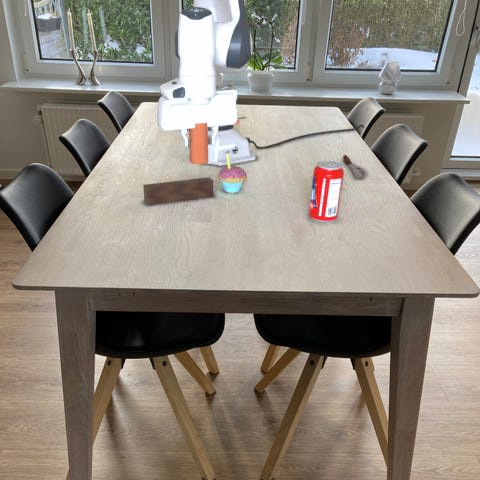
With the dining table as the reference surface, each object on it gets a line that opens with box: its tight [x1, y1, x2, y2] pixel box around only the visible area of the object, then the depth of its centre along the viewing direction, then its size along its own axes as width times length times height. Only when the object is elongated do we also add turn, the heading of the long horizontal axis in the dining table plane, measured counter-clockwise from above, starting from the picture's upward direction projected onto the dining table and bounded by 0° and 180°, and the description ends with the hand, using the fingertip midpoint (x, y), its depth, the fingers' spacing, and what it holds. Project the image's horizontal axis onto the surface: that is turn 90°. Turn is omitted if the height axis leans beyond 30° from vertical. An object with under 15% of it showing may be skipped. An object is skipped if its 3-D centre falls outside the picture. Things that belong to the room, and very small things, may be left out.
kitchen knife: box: [342, 154, 365, 179], centre depth 180 cm, size 21×2×5 cm
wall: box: [142, 176, 214, 206], centre depth 150 cm, size 20×3×5 cm, turn 114°
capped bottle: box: [188, 123, 208, 165], centre depth 133 cm, size 5×5×11 cm
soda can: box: [308, 160, 345, 223], centre depth 140 cm, size 8×8×15 cm
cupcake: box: [218, 153, 248, 194], centre depth 156 cm, size 9×8×12 cm
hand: (198, 145), depth 133 cm, fingers closed on capped bottle, 5 cm apart
